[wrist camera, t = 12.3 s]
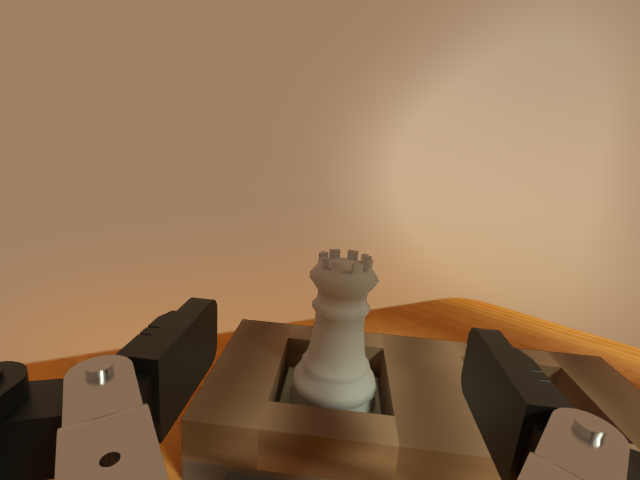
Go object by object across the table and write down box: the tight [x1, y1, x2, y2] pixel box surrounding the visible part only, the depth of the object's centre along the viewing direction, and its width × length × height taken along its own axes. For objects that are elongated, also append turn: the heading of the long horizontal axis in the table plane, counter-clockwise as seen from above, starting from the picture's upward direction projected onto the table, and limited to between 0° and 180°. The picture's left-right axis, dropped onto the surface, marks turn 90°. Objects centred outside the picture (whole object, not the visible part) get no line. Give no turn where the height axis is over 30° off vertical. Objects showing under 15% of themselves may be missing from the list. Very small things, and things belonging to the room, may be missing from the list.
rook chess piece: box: [290, 249, 379, 413], centre depth 18 cm, size 4×4×8 cm
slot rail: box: [181, 319, 640, 480], centre depth 19 cm, size 22×9×3 cm, turn 85°
